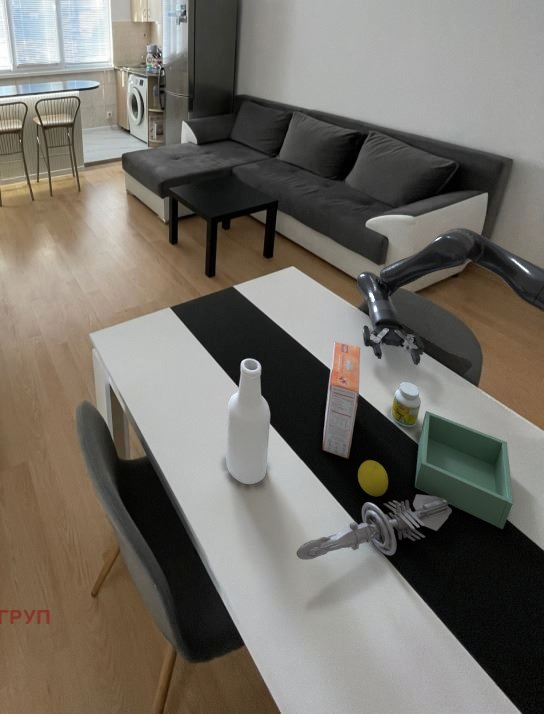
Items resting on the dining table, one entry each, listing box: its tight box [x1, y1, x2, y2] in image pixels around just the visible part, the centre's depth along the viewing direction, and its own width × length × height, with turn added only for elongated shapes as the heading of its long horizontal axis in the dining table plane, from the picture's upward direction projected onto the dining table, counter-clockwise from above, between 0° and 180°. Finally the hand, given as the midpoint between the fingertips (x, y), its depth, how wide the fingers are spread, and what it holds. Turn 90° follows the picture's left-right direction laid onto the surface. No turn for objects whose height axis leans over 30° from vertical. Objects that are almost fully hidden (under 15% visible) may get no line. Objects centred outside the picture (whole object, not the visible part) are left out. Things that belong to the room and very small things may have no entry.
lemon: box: [357, 459, 389, 497], centre depth 89 cm, size 6×6×8 cm
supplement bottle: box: [390, 381, 422, 428], centre depth 104 cm, size 5×5×10 cm
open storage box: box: [414, 410, 514, 530], centre depth 90 cm, size 15×15×8 cm
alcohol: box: [225, 358, 271, 485], centre depth 91 cm, size 9×9×30 cm
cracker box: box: [322, 341, 361, 460], centre depth 99 cm, size 14×6×21 cm, turn 154°
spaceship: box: [295, 494, 453, 561], centre depth 80 cm, size 8×35×8 cm
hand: (398, 359), depth 111 cm, fingers open, 8 cm apart
